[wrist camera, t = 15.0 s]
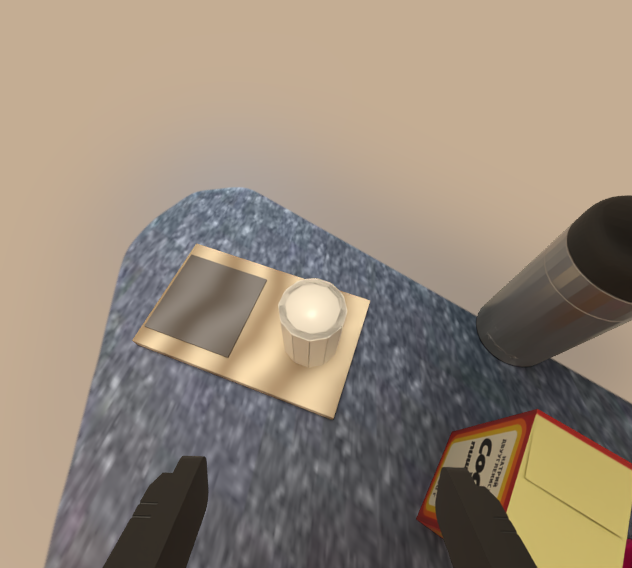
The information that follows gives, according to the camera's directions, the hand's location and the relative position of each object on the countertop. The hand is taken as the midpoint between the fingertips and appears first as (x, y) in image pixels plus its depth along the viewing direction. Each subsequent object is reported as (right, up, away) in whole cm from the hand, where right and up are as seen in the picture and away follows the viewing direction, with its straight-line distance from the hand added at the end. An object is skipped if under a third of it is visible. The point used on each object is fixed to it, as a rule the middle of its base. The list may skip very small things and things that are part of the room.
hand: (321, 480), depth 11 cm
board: (-8, +2, +31) cm, 32 cm away
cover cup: (-1, 0, +29) cm, 29 cm away
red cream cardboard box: (+15, -15, +23) cm, 31 cm away
